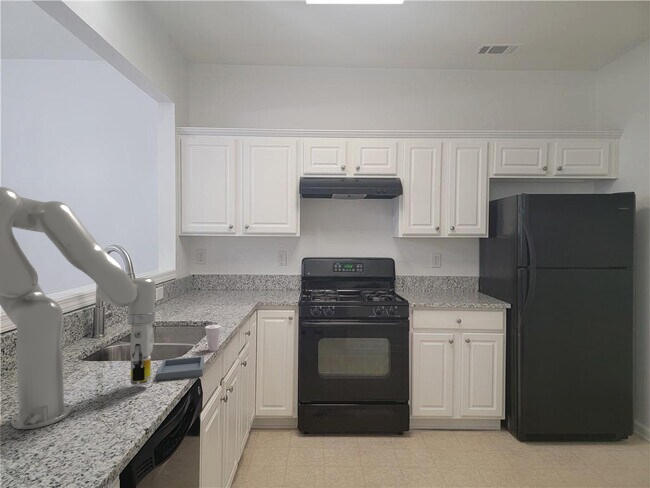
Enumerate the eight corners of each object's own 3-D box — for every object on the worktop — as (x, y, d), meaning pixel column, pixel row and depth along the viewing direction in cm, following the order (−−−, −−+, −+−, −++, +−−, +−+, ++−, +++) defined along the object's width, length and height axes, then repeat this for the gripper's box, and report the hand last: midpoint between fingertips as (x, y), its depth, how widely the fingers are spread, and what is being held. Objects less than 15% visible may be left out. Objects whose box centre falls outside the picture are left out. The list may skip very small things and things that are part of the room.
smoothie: (209, 353, 152) (208, 318, 152) (202, 349, 157) (202, 315, 156) (224, 350, 156) (223, 316, 156) (217, 346, 161) (216, 313, 161)
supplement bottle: (153, 379, 122) (153, 347, 122) (146, 386, 116) (147, 352, 116) (134, 380, 121) (135, 347, 121) (127, 386, 115) (127, 352, 115)
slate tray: (202, 376, 128) (202, 369, 128) (157, 381, 124) (156, 373, 124) (204, 362, 141) (204, 356, 141) (163, 366, 138) (163, 359, 138)
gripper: (149, 323, 111) (148, 386, 111) (158, 312, 128) (158, 367, 128) (121, 324, 109) (120, 388, 109) (134, 313, 126) (133, 369, 126)
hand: (140, 376), depth 119 cm, fingers closed on supplement bottle, 5 cm apart
